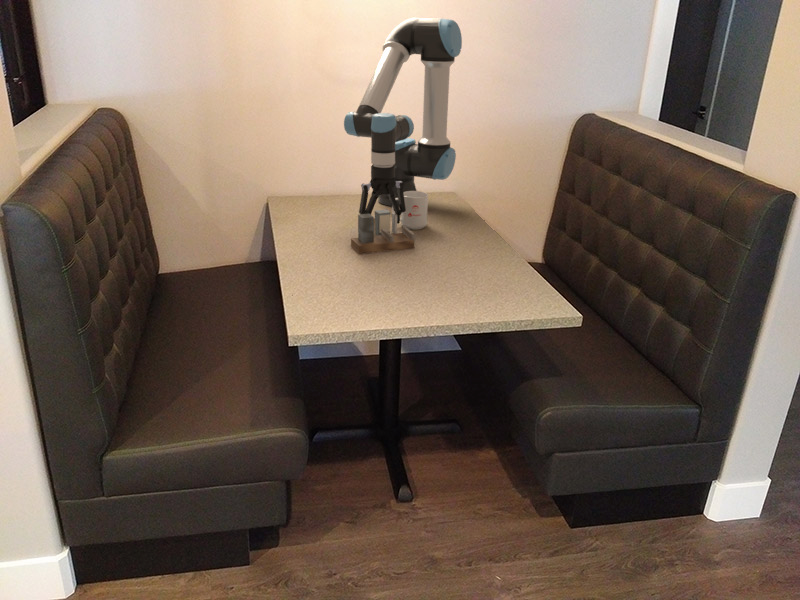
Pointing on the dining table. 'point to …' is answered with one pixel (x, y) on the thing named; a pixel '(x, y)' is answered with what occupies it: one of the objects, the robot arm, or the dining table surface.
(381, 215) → the grey block tan top
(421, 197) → the mug
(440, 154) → the robot arm
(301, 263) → the dining table surface
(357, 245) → the wooden block stand
